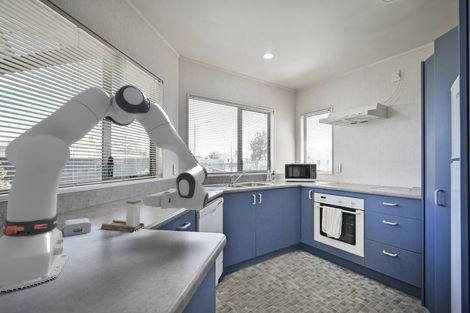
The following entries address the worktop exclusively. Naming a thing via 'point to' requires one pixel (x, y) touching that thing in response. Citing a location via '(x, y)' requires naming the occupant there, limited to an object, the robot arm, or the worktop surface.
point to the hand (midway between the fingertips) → (146, 196)
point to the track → (121, 226)
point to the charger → (77, 226)
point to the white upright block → (133, 213)
